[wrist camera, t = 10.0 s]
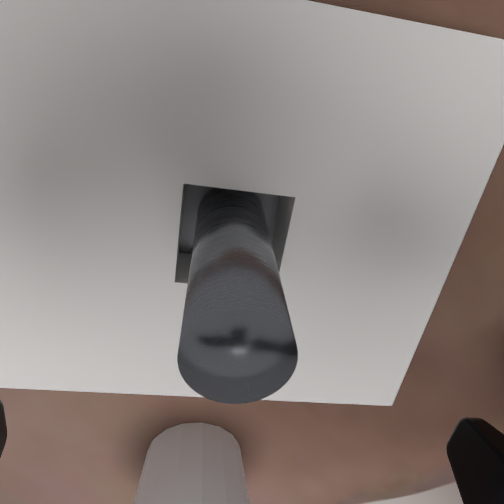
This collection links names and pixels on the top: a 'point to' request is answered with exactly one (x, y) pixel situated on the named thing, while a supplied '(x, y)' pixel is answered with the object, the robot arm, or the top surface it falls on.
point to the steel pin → (235, 305)
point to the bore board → (232, 180)
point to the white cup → (193, 467)
